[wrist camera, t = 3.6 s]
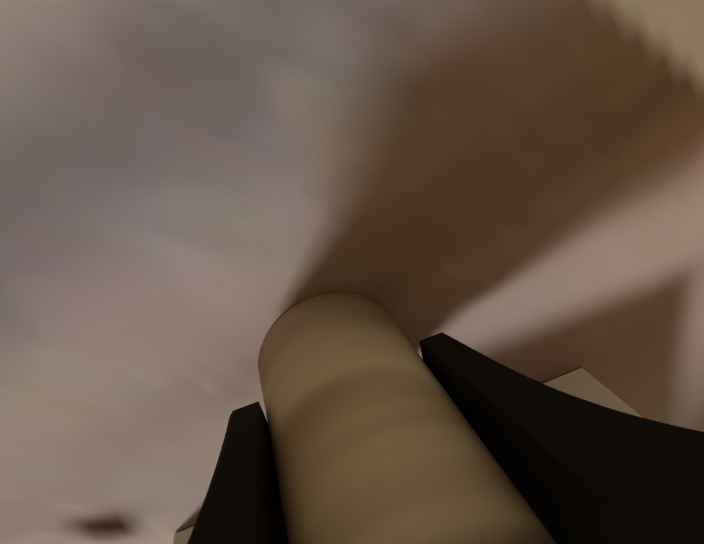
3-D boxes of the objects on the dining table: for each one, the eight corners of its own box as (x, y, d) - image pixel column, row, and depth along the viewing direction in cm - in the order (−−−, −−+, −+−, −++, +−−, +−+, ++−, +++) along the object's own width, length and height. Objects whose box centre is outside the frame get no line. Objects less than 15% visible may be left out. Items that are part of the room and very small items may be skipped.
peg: (410, 386, 14) (566, 632, 8) (283, 435, 14) (348, 742, 7) (384, 271, 12) (561, 479, 6) (237, 323, 12) (272, 607, 6)
